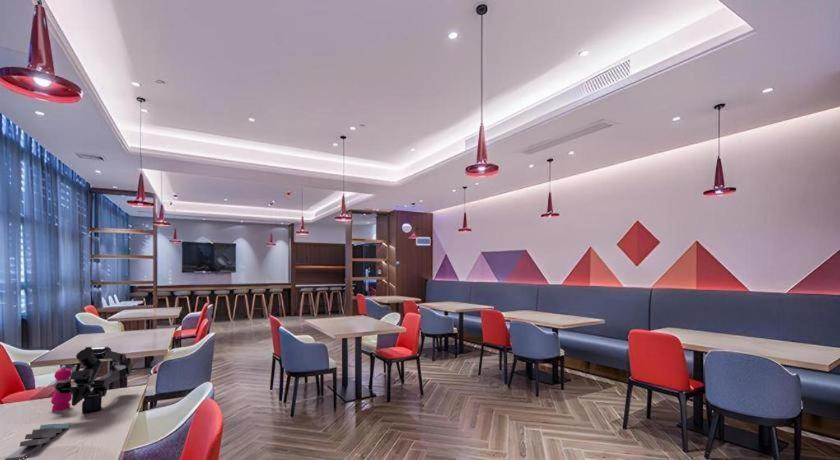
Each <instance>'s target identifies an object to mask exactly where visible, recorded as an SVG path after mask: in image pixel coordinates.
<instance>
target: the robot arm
mask: <svg viewBox="0 0 840 460" xmlns="http://www.w3.org/2000/svg"><path fill="white" fill-rule="evenodd" d="M75 357H76V359H77V361H78V362H79V364H80V365H81V366H82V367H83V369H82V370H75V371H74V370H73V371H72V370H71V376H70V377H69V378H70V379H69V380H73V383H70V381H69V382H59V383H57V384H56V383H55V386H54V389H55V391H56V390H57V391H58V392H59V393H60V394H68V393H71V395H72V399H71V406H73V407H74V406H76V405H77V404H78V403H80V402H81V401H82V400H83V399H84V400H83V401H82V403H81V412H82V414H84V415H85V414H90V413H94V412H100V411H102V407H103V406H102V400H103V397H106V396H107V392H108V390H109V388H110V384H111V383H113V382H114V381H116V380H118V379H121V378H126V377H129V376H130V375H131V374H132V373H133V367H132V366H133V365H132V361H130V360H129V359H128V358H127V356H126V354H125V353H121V352H117V351H113V350H112V348H110V347H109V346H97V347H96V346H94V347H92V346H86V347H85V348H84V349H82V350H80V351H79V352H78V353H76V356H75ZM101 360H106V361H110V362H111V363H110V366H109V372H108V373H105V374H104V375H103V376H100V377H98V376H97V375H98V372H99V371H100V369H102V368H103V367H104V364H103V361H101ZM116 362H117V363H118V362H119V363H120V362H121V363H122V364H121V365H120V364H118V365H115V363H116Z"/></svg>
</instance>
